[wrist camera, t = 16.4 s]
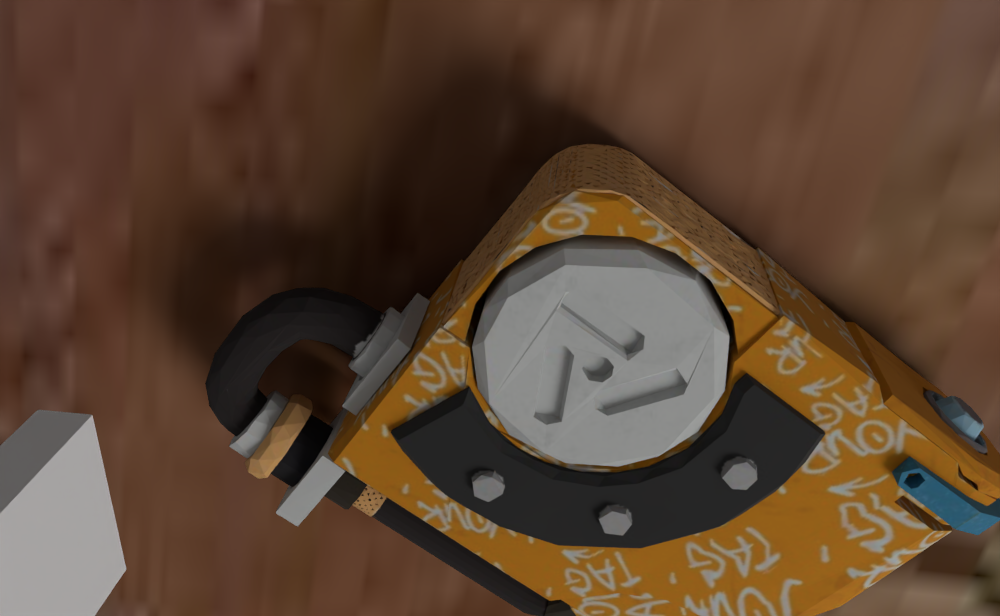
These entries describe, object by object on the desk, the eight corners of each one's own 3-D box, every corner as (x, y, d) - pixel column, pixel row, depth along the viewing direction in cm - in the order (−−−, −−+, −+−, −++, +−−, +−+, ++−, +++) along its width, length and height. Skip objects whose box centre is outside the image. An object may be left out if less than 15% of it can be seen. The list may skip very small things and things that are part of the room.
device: (673, 795, 42) (131, 466, 36) (663, 657, 50) (211, 365, 44) (1080, 527, 33) (433, 22, 27) (994, 405, 40) (470, -12, 34)
